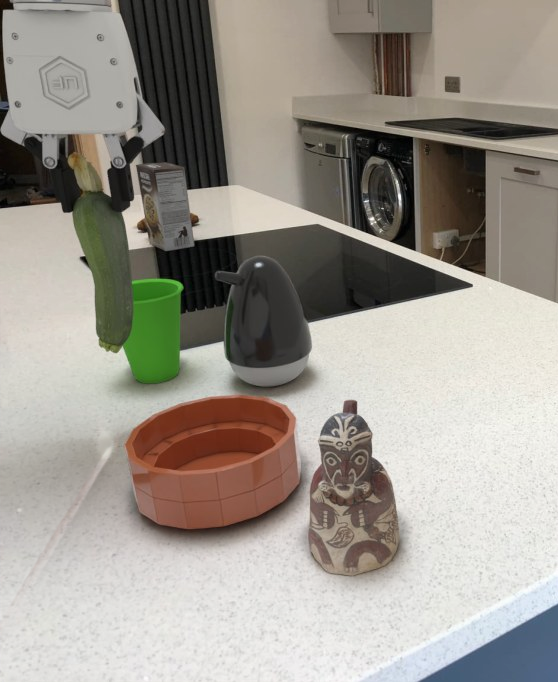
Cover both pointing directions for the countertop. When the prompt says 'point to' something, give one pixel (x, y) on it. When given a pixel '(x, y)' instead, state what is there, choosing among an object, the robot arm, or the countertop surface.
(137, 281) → the cup
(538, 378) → the countertop surface
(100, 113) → the robot arm
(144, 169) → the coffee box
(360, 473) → the figurine
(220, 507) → the bowl
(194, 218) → the croissant
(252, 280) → the pump dispenser
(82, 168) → the vegetable
